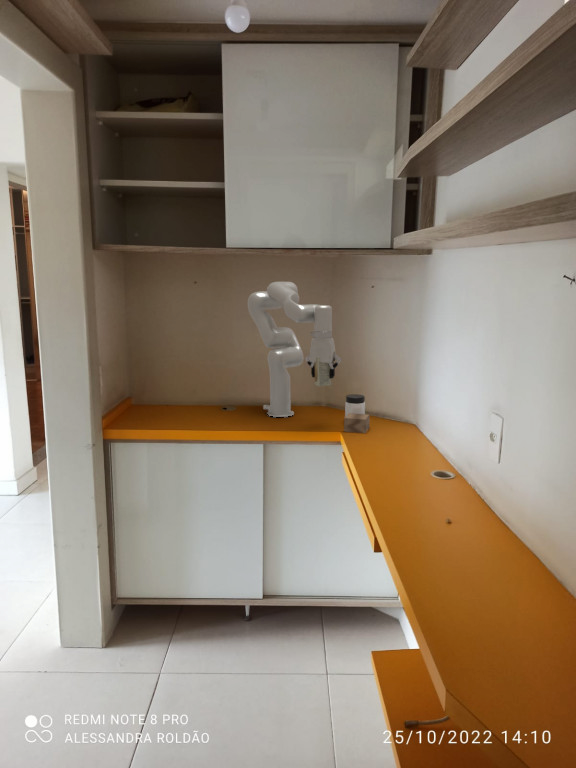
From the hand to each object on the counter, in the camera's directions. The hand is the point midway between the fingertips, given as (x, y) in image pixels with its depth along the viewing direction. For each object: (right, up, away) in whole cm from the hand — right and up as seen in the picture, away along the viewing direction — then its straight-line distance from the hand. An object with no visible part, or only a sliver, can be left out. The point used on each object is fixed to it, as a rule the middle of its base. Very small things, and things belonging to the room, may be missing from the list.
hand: (322, 377), depth 231 cm
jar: (+15, -20, +12) cm, 28 cm away
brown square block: (+14, -22, 0) cm, 27 cm away
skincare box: (0, -4, +1) cm, 4 cm away
